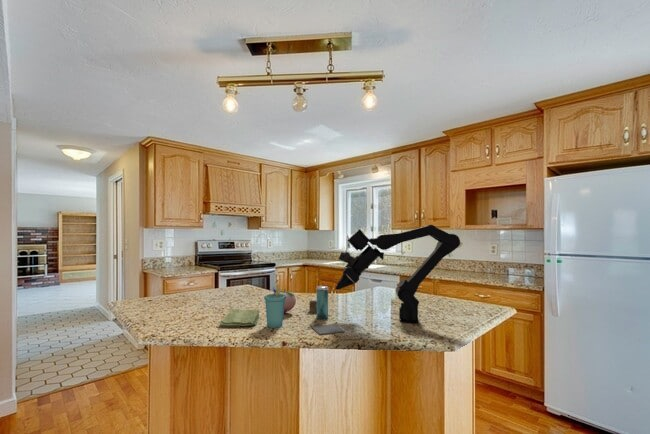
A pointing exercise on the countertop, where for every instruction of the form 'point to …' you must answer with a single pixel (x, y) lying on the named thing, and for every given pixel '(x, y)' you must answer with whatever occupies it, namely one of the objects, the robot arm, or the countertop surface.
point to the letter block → (313, 305)
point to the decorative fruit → (288, 300)
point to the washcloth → (240, 318)
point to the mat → (327, 329)
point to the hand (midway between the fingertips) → (336, 287)
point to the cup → (275, 307)
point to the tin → (322, 302)
